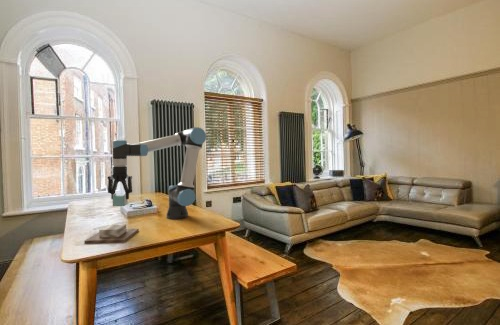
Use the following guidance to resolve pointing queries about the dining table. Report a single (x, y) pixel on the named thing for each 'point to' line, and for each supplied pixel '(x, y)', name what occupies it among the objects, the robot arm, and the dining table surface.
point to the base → (112, 239)
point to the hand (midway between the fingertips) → (120, 204)
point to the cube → (118, 200)
